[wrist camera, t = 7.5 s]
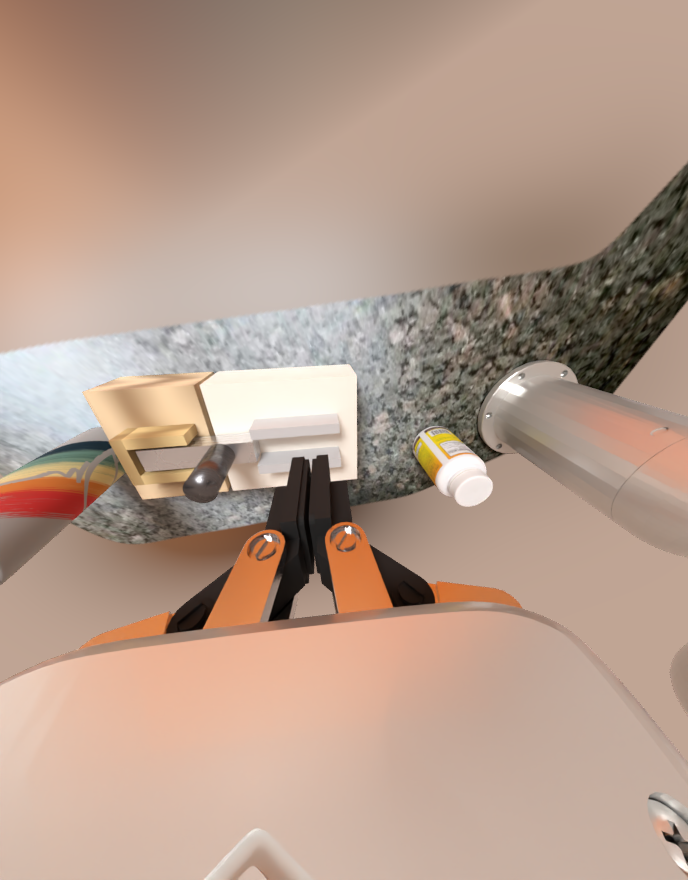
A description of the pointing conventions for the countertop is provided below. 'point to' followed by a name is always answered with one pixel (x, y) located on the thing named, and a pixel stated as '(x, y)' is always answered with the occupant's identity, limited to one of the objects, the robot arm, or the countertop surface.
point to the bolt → (203, 461)
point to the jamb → (152, 424)
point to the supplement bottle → (452, 466)
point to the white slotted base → (287, 419)
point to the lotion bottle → (52, 495)
